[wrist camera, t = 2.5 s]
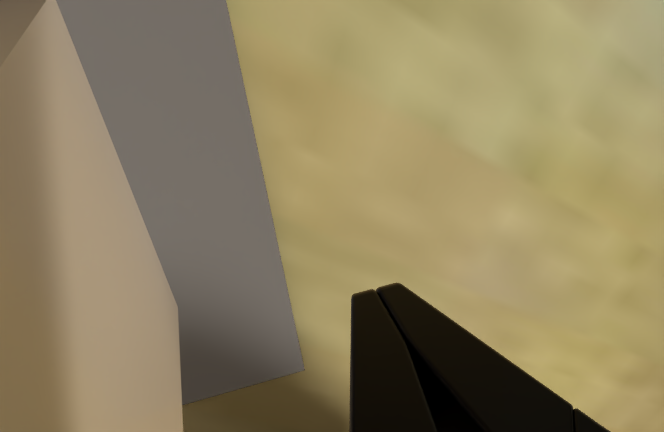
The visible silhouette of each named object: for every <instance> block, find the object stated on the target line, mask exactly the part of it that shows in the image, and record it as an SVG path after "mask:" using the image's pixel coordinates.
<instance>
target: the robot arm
mask: <svg viewBox="0 0 664 432" xmlns="http://www.w3.org/2000/svg"><path fill="white" fill-rule="evenodd" d="M349 432H610V431H609V430H607V429H606V428H604V427H603V426H601V425H600V424H598V423H597V422H595V421H594V420H593V419H591V418H590V417H588V416H587V415H586V414H584V413H583V412H581V411H580V410H579V409H573V407H572V405H571V404H570V403H568V402H567V401H566V400H564V399H563V398H561V397H560V396H559V395H557V394H556V393H554V392H553V391H551V390H550V389H549V388H547V387H546V386H544V385H543V384H542V383H540V382H539V381H537V380H536V379H535V378H533V377H532V376H530V375H529V374H527V373H526V372H525V371H523V370H522V369H520V368H519V367H518V366H516V365H515V364H513V363H512V362H511V361H509V360H508V359H506V358H505V357H504V356H502V355H501V354H499V353H498V352H496V351H495V350H494V349H492V348H491V347H489V346H488V345H487V344H485V343H484V342H482V341H481V340H480V339H478V338H477V337H475V336H474V335H472V334H471V333H470V332H468V331H467V330H465V329H464V328H463V327H461V326H460V325H458V324H457V323H456V322H454V321H453V320H451V319H450V318H449V317H447V316H446V315H444V314H443V313H441V312H440V311H439V310H437V309H436V308H434V307H433V306H432V305H430V304H429V303H427V302H426V301H425V300H423V299H422V298H420V297H419V296H417V295H416V294H415V293H413V292H412V291H410V290H409V289H408V288H406V287H405V286H403V285H402V284H400V283H393V284H389V285H385V286H382V287H379V288H377V289H376V291H375V290H373V289H370V290H367V291H363V292H359V293H355V294H353V295H352V299H351V360H350V427H349Z"/></svg>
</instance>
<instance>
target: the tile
mask: <svg viewBox="0 0 664 432" xmlns="http://www.w3.org/2000/svg"><path fill="white" fill-rule="evenodd" d="M0 432H183V415H182V392H181V369H180V346H179V322H178V306H177V304H176V301H175V299H174V296H173V294H172V291H171V289H170V286H169V284H168V281H167V279H166V276H165V274H164V271H163V269H162V266H161V264H160V261H159V258H158V256H157V253H156V251H155V248H154V246H153V243H152V241H151V238H150V236H149V233H148V231H147V228H146V226H145V223H144V221H143V218H142V216H141V213H140V211H139V208H138V206H137V203H136V201H135V198H134V196H133V193H132V190H131V188H130V185H129V183H128V180H127V178H126V175H125V173H124V170H123V168H122V165H121V163H120V160H119V158H118V155H117V153H116V150H115V148H114V145H113V143H112V140H111V138H110V135H109V133H108V130H107V128H106V125H105V122H104V120H103V117H102V115H101V112H100V110H99V107H98V105H97V102H96V100H95V97H94V95H93V92H92V90H91V87H90V85H89V82H88V80H87V77H86V75H85V72H84V70H83V67H82V65H81V62H80V60H79V57H78V55H77V52H76V49H75V47H74V44H73V42H72V39H71V37H70V34H69V32H68V29H67V27H66V24H65V22H64V19H63V17H62V14H61V12H60V9H59V7H58V4H57V2H56V0H0Z"/></svg>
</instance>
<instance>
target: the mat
mask: <svg viewBox="0 0 664 432" xmlns="http://www.w3.org/2000/svg"><path fill="white" fill-rule="evenodd" d="M56 2H57V4H58V7H59V9H60V12H61V14H62V17H63V19H64V22H65V24H66V27H67V29H68V32H69V34H70V37H71V39H72V42H73V44H74V47H75V49H76V52H77V55H78V57H79V60H80V62H81V65H82V67H83V70H84V72H85V75H86V77H87V80H88V82H89V85H90V87H91V90H92V92H93V95H94V97H95V100H96V102H97V105H98V107H99V110H100V112H101V115H102V117H103V120H104V122H105V125H106V128H107V130H108V133H109V135H110V138H111V140H112V143H113V145H114V148H115V150H116V153H117V155H118V158H119V160H120V163H121V165H122V168H123V170H124V173H125V175H126V178H127V180H128V183H129V185H130V188H131V190H132V193H133V196H134V198H135V201H136V203H137V206H138V208H139V211H140V213H141V216H142V218H143V221H144V223H145V226H146V228H147V231H148V233H149V236H150V238H151V241H152V243H153V246H154V248H155V251H156V253H157V256H158V258H159V261H160V264H161V266H162V269H163V271H164V274H165V276H166V279H167V281H168V284H169V286H170V289H171V291H172V294H173V296H174V299H175V301H176V304H177V306H178V322H179V346H180V369H181V392H182V405H185V404H189V403H192V402H195V401H199V400H202V399H206V398H209V397H213V396H216V395H220V394H223V393H227V392H230V391H234V390H237V389H241V388H244V387H248V386H251V385H255V384H258V383H262V382H265V381H269V380H272V379H276V378H279V377H283V376H286V375H290V374H293V373H297V372H300V371H304V370H305V369H304V364H303V360H302V355H301V350H300V346H299V341H298V336H297V332H296V327H295V322H294V317H293V313H292V308H291V303H290V299H289V294H288V289H287V285H286V280H285V275H284V271H283V266H282V261H281V256H280V252H279V247H278V242H277V238H276V233H275V228H274V224H273V219H272V214H271V209H270V205H269V200H268V195H267V191H266V186H265V181H264V177H263V172H262V167H261V163H260V158H259V153H258V148H257V144H256V139H255V134H254V130H253V125H252V120H251V116H250V111H249V106H248V101H247V97H246V92H245V87H244V83H243V78H242V73H241V69H240V64H239V59H238V55H237V50H236V45H235V40H234V36H233V31H232V26H231V22H230V17H229V12H228V8H227V3H226V0H56Z"/></svg>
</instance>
